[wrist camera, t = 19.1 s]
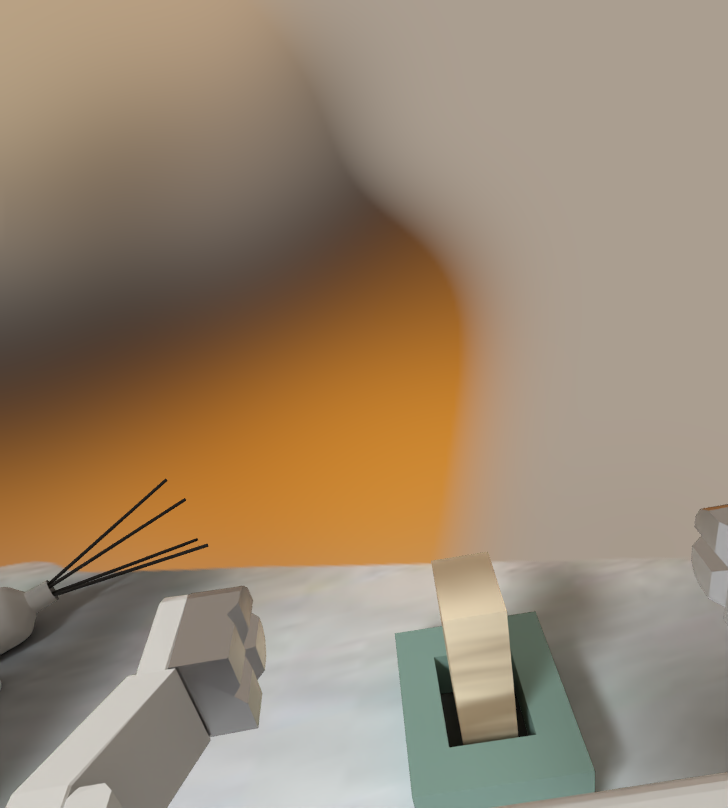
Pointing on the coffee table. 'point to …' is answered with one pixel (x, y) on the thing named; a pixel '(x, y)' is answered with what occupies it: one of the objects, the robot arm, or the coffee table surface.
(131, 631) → the coffee table surface
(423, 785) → the sage square frame
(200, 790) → the coffee table surface
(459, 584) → the light wooden block
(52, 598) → the reed diffuser
